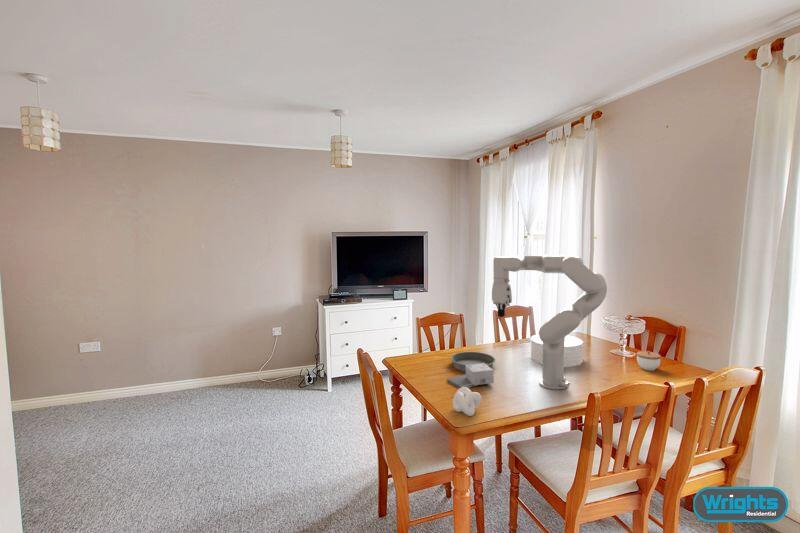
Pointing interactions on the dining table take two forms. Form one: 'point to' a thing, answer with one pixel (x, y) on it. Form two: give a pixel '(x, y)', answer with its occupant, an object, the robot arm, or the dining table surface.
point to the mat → (460, 381)
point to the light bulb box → (479, 374)
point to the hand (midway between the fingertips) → (501, 316)
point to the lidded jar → (648, 360)
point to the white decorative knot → (466, 401)
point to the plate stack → (571, 350)
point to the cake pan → (471, 359)
